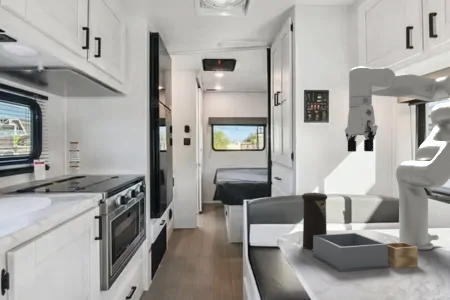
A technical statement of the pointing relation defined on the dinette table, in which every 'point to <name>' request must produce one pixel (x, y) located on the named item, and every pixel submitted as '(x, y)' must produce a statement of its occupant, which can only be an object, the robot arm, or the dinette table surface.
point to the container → (313, 217)
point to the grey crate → (350, 251)
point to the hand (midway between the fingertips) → (360, 151)
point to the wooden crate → (402, 255)
